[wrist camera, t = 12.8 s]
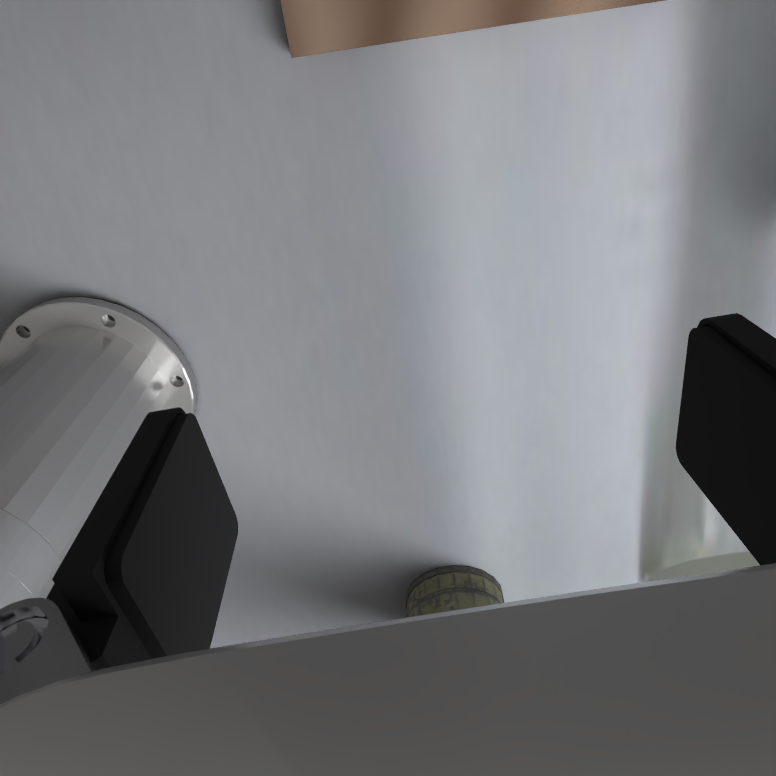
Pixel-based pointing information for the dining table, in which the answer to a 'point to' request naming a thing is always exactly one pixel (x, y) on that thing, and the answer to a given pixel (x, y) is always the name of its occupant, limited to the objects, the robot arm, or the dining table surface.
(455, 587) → the olive green tall cylinder
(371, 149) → the dining table surface
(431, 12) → the duct board
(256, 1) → the dining table surface
